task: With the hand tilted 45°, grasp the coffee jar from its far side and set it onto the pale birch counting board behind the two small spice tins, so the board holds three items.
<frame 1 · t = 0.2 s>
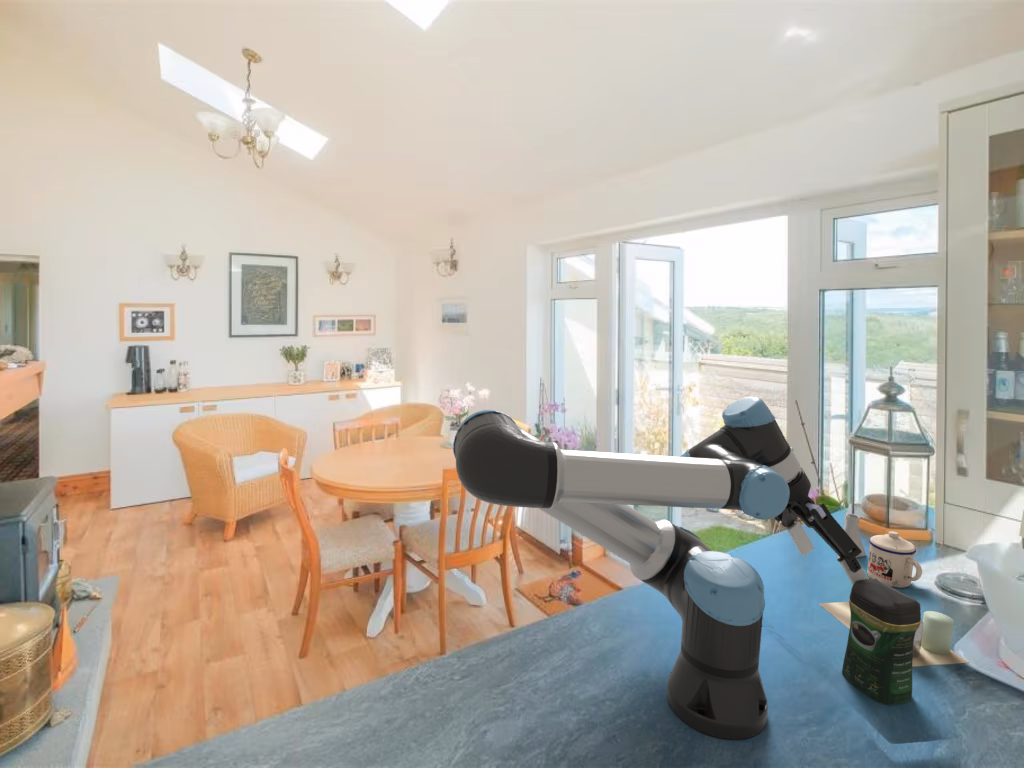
hand: (832, 566, 103), 16 cm above the countertop, tool tilted 35°, fingers open, 13 cm apart
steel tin: (905, 649, 102), point 1 cm above the countertop, touching birch board
flask: (849, 552, 146), on the countertop
coffee jar: (874, 693, 93), on the countertop
sage tin: (934, 647, 102), point 1 cm above the countertop, touching birch board
teacup with lid: (893, 583, 130), on the countertop
birch board: (886, 637, 108), on the countertop
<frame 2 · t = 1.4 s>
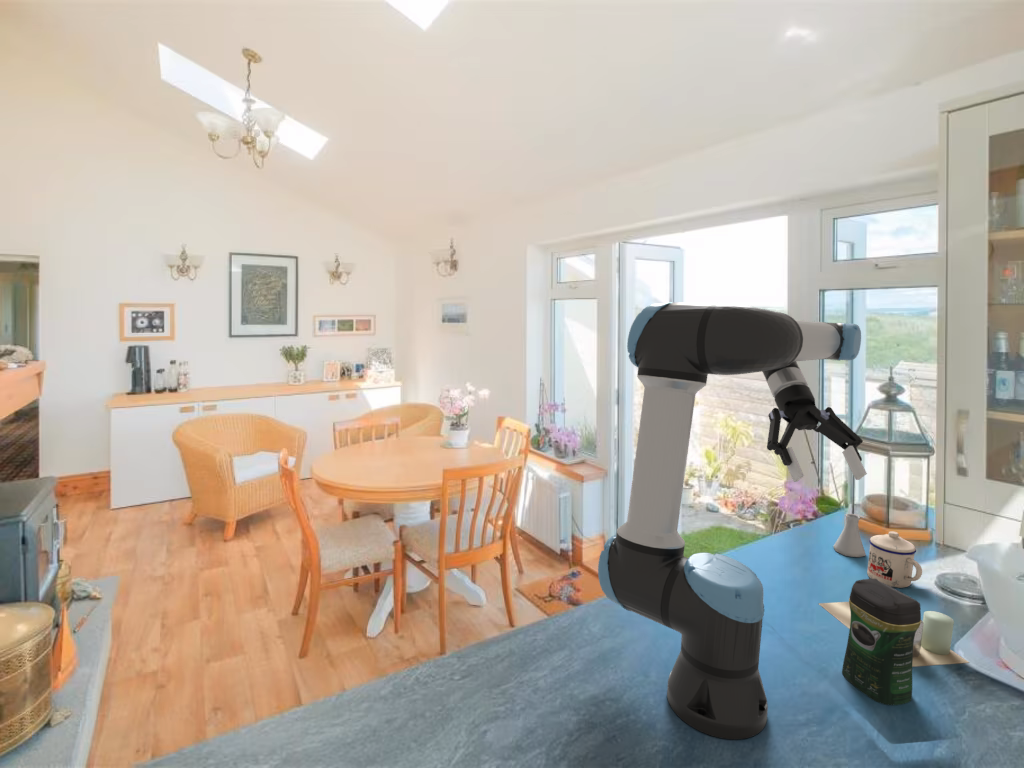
hand: (830, 478, 112), 30 cm above the countertop, tool tilted 45°, fingers open, 13 cm apart
nothing on the countertop moved.
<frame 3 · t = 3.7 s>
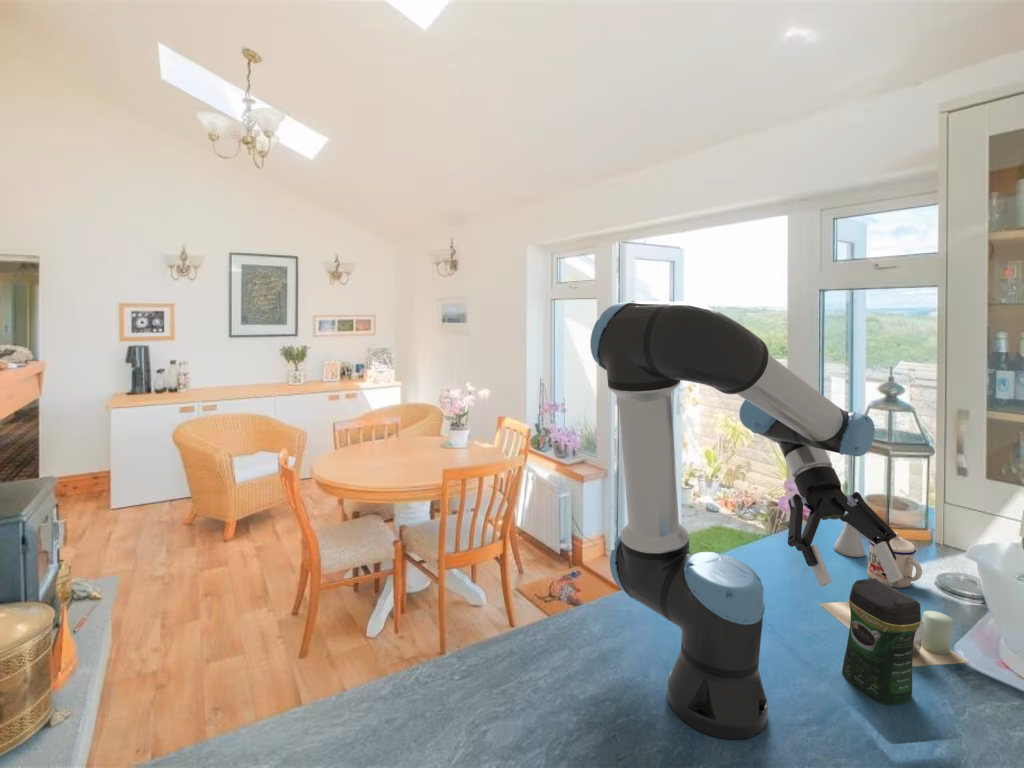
hand: (861, 582, 97), 16 cm above the countertop, tool tilted 45°, fingers open, 13 cm apart
nothing on the countertop moved.
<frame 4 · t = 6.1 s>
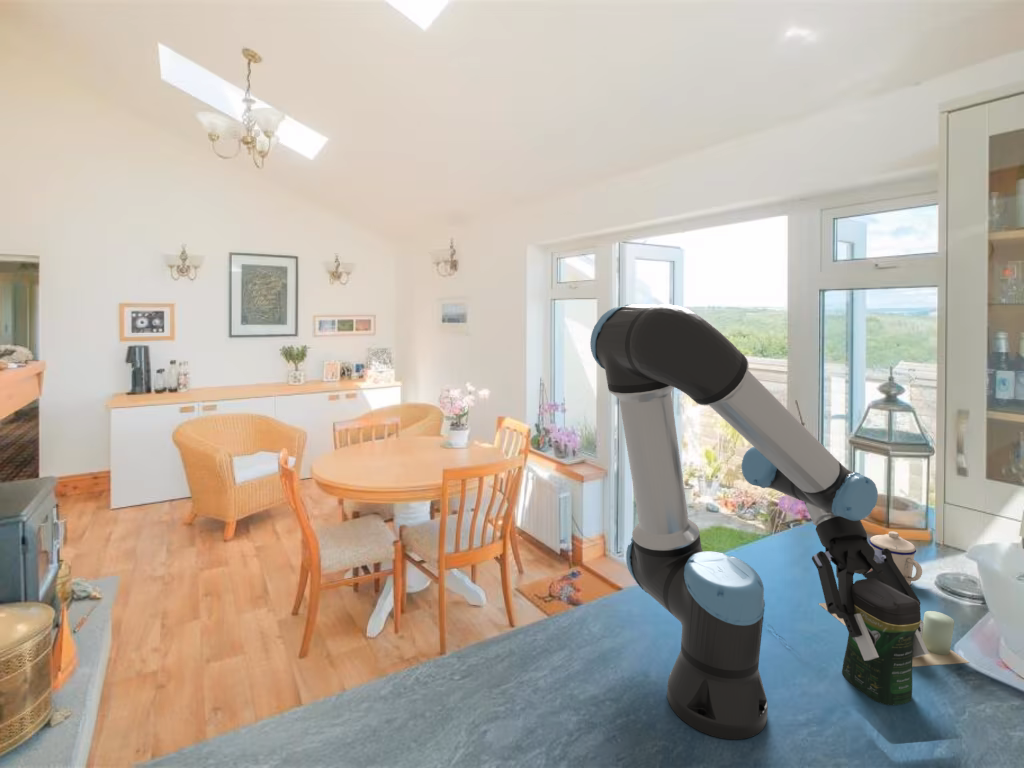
hand: (896, 657, 88), 9 cm above the countertop, tool tilted 45°, fingers closed on coffee jar, 8 cm apart
coffee jar: (874, 693, 93), on the countertop, touching gripper
everything else where it was.
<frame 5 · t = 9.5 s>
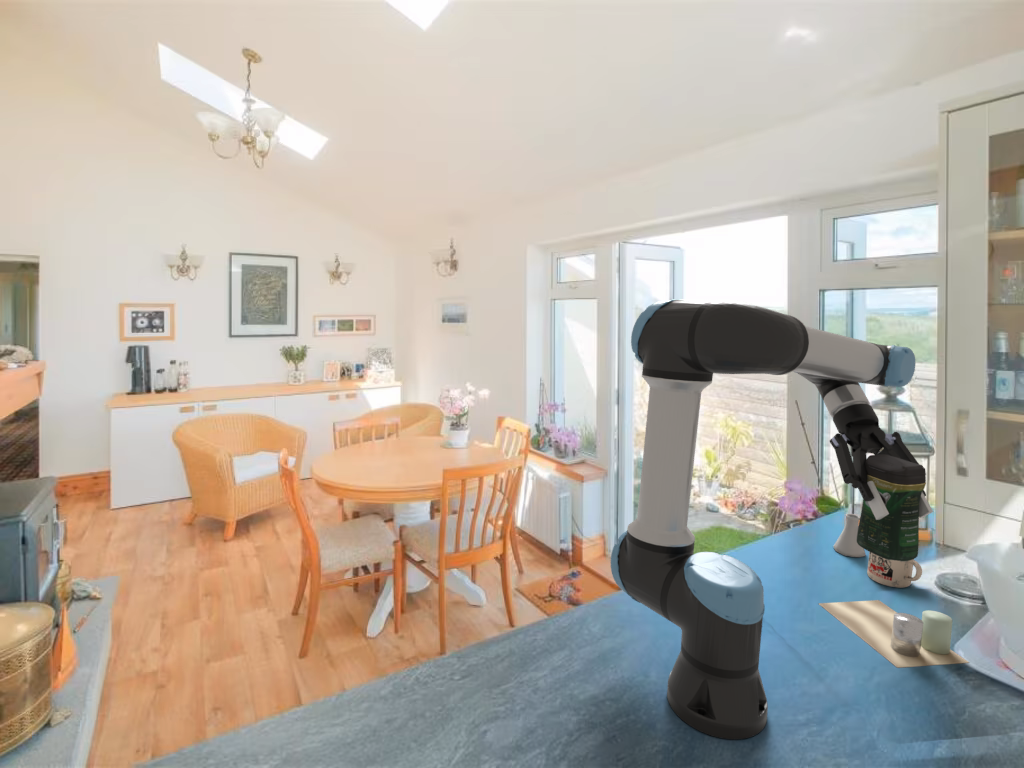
hand: (904, 515, 101), 26 cm above the countertop, tool tilted 45°, fingers closed on coffee jar, 8 cm apart
coffee jar: (885, 552, 106), point 17 cm above the countertop, touching gripper
everything else where it was.
when the fingers open (12 cm above the countertop, at t = 12.7 s): coffee jar drops 1 cm, resting on birch board.
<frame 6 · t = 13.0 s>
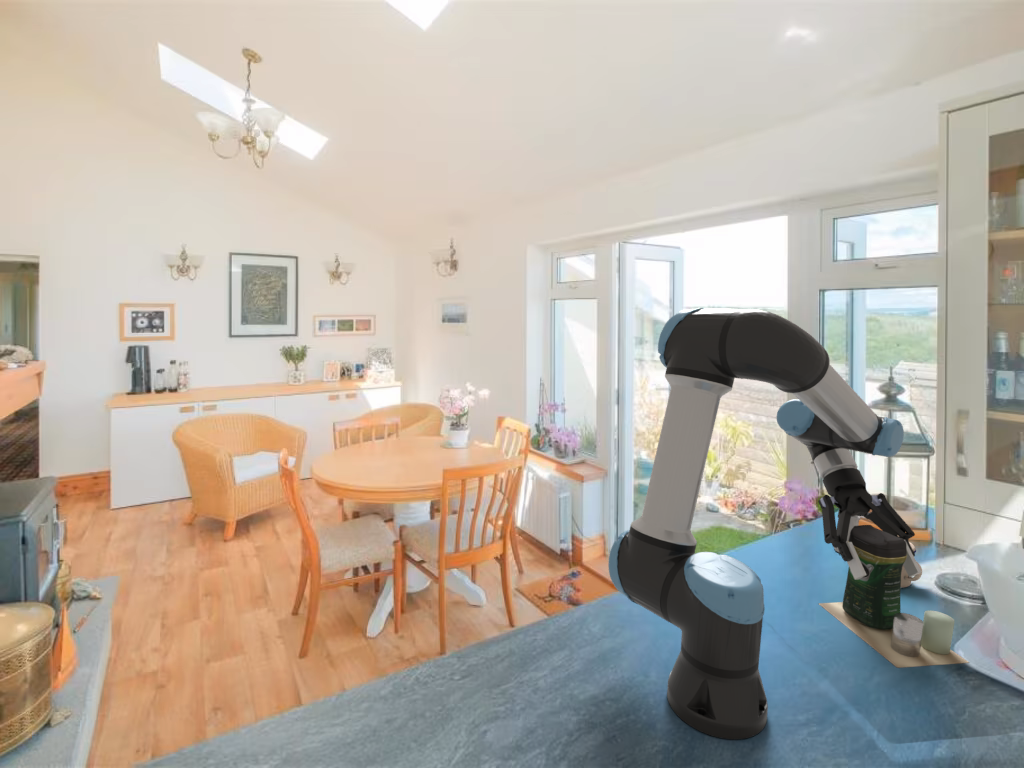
hand: (888, 576, 107), 12 cm above the countertop, tool tilted 45°, fingers open, 11 cm apart
coffee jar: (869, 619, 112), point 1 cm above the countertop, touching birch board
everything else where it was.
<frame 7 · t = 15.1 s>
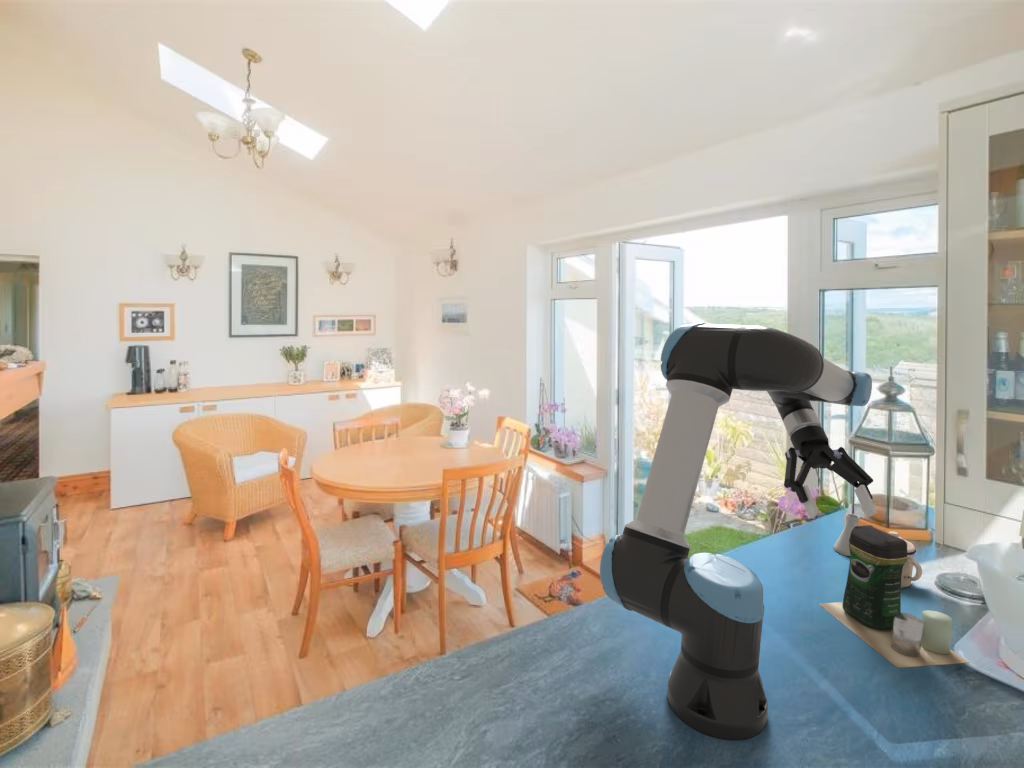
hand: (843, 515, 120), 19 cm above the countertop, tool tilted 45°, fingers open, 13 cm apart
nothing on the countertop moved.
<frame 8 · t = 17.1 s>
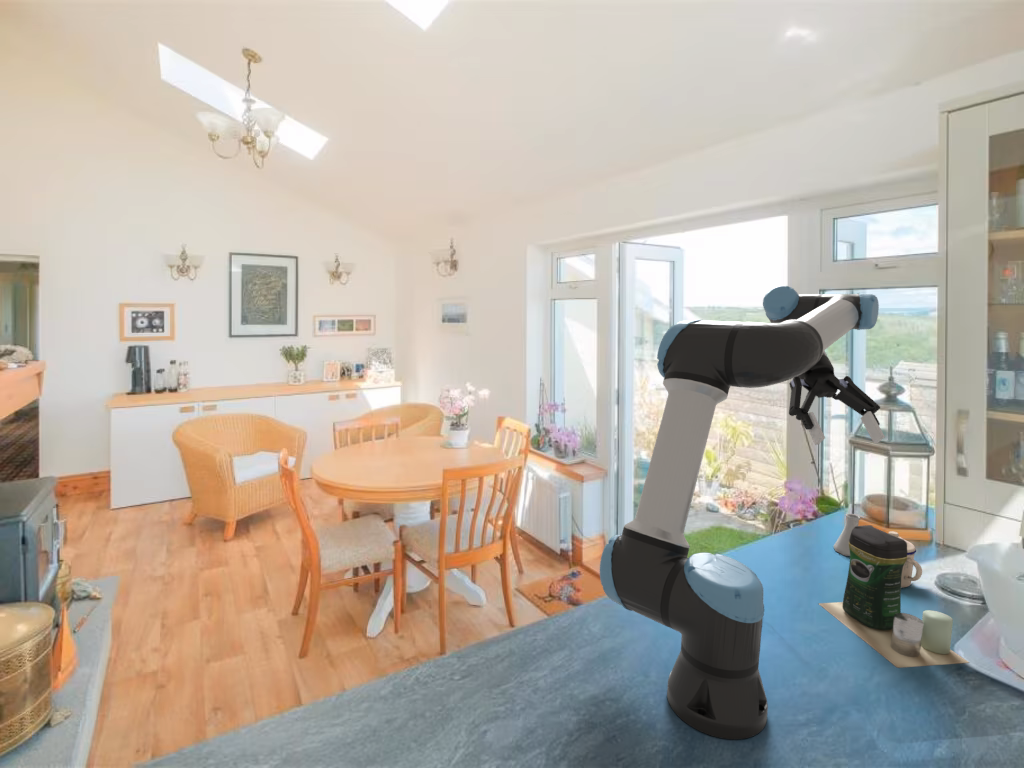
hand: (850, 440, 117), 36 cm above the countertop, tool tilted 45°, fingers open, 13 cm apart
nothing on the countertop moved.
at the end: coffee jar inside the target area (0.3 cm from its centre), point 1.3 cm above the countertop; coffee jar tilted 0°; the gripper is holding nothing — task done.
